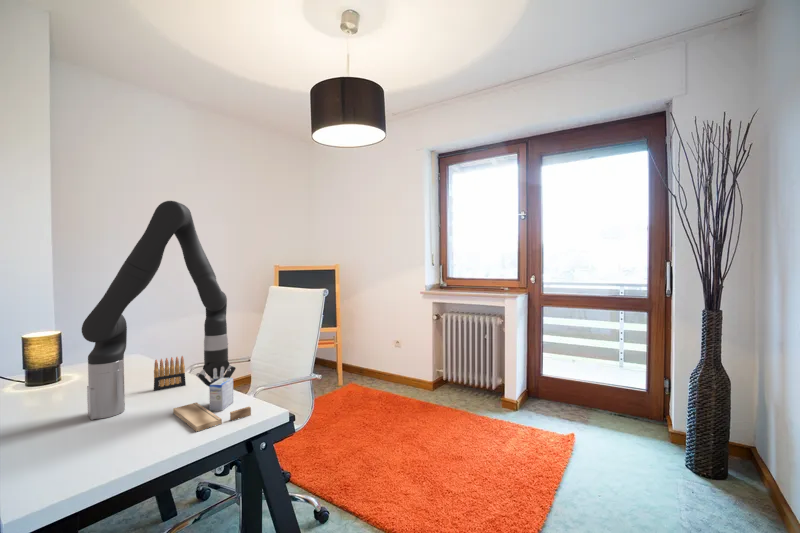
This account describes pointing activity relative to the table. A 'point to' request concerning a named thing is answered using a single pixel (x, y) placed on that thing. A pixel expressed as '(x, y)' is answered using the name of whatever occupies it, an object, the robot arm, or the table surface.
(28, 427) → the table surface
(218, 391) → the medicine box
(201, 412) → the board
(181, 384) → the ammunition clip
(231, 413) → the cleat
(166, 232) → the robot arm
